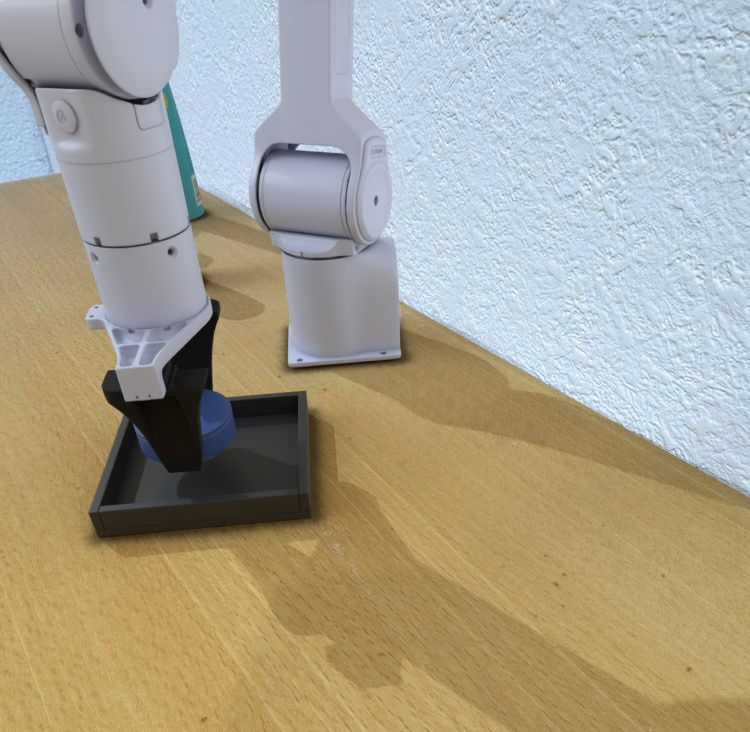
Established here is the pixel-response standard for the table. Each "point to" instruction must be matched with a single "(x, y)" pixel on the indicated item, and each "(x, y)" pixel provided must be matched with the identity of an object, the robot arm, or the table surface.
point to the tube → (183, 157)
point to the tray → (213, 475)
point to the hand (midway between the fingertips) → (191, 438)
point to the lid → (206, 426)
